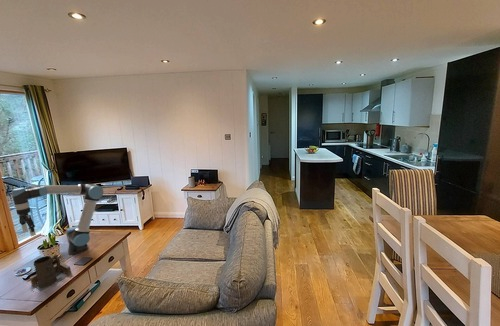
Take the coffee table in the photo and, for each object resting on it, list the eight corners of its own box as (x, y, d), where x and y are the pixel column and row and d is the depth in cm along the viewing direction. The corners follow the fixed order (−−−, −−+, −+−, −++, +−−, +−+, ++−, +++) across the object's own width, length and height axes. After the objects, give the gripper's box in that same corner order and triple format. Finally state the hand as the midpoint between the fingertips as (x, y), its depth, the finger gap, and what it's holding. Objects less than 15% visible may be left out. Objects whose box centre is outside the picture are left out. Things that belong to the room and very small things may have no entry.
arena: (62, 268, 191) (61, 262, 190) (71, 273, 184) (69, 266, 183) (31, 284, 174) (29, 277, 172) (40, 290, 167) (38, 283, 166)
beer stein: (45, 289, 168) (41, 263, 165) (33, 287, 170) (29, 262, 167) (65, 276, 182) (62, 252, 180) (54, 274, 185) (51, 251, 182)
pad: (60, 272, 187) (60, 271, 187) (68, 276, 181) (68, 276, 181) (33, 285, 172) (33, 285, 172) (41, 290, 166) (41, 290, 166)
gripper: (9, 207, 178) (16, 232, 182) (23, 212, 166) (30, 239, 170) (22, 204, 184) (28, 228, 189) (36, 208, 173) (43, 234, 177)
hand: (29, 233), depth 180 cm, fingers open, 13 cm apart
